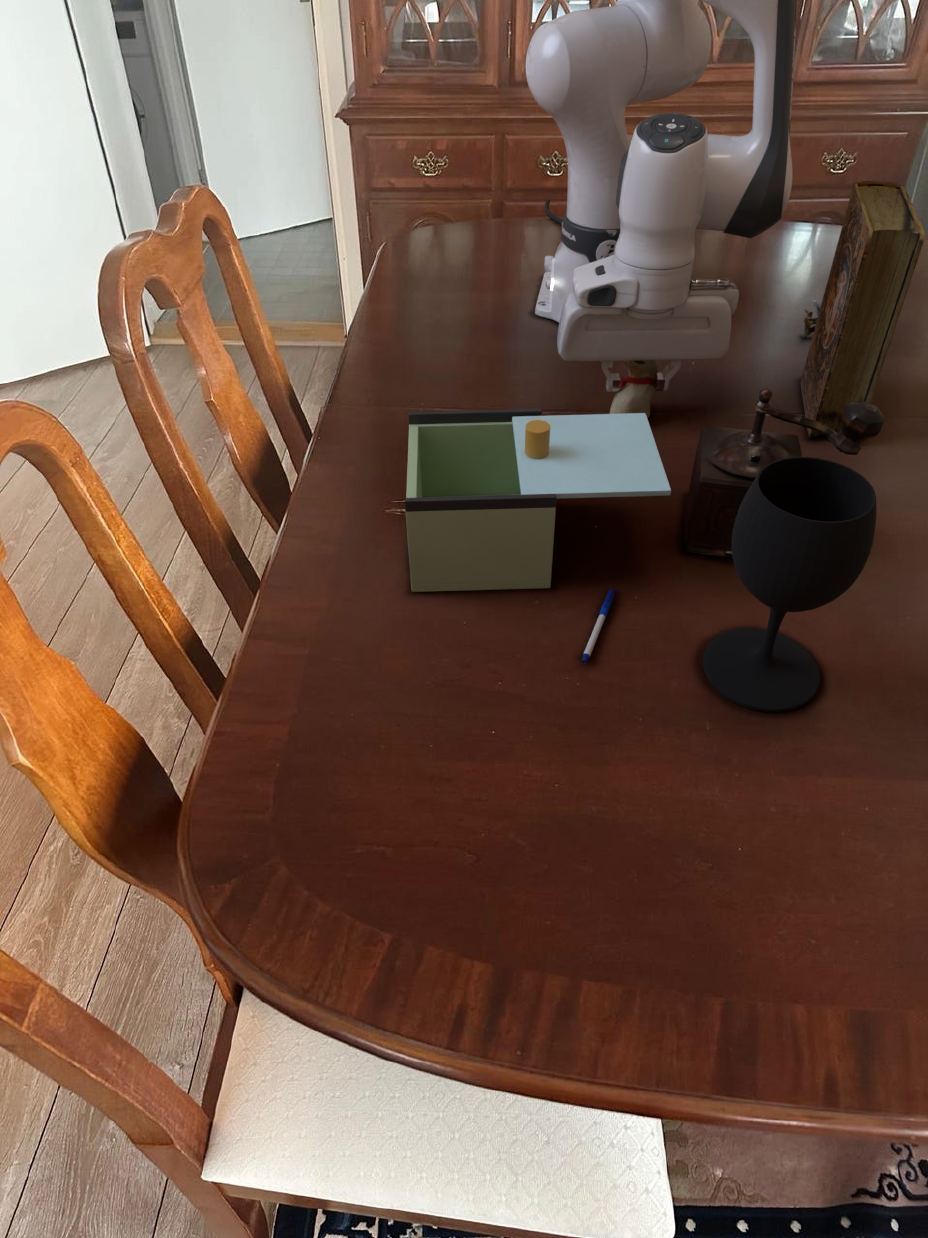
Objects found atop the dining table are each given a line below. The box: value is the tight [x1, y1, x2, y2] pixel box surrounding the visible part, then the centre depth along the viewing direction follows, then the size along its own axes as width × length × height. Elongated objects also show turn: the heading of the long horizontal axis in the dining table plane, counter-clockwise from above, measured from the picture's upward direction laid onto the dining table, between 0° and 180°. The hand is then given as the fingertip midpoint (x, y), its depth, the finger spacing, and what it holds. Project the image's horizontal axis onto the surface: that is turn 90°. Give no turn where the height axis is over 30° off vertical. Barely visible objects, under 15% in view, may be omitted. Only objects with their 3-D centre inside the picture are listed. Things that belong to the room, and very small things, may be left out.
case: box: [404, 407, 557, 593], centre depth 92 cm, size 16×14×11 cm
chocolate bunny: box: [608, 360, 659, 419], centre depth 110 cm, size 6×8×10 cm
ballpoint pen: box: [581, 587, 616, 664], centre depth 85 cm, size 10×1×1 cm, turn 160°
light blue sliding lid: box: [512, 413, 672, 500], centre depth 87 cm, size 14×14×4 cm
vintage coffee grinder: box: [682, 388, 885, 560], centre depth 90 cm, size 16×11×18 cm
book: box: [800, 180, 926, 439], centre depth 105 cm, size 16×6×25 cm, turn 168°
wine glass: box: [702, 456, 877, 713], centre depth 74 cm, size 10×10×20 cm
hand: (636, 389), depth 111 cm, fingers closed on chocolate bunny, 4 cm apart
